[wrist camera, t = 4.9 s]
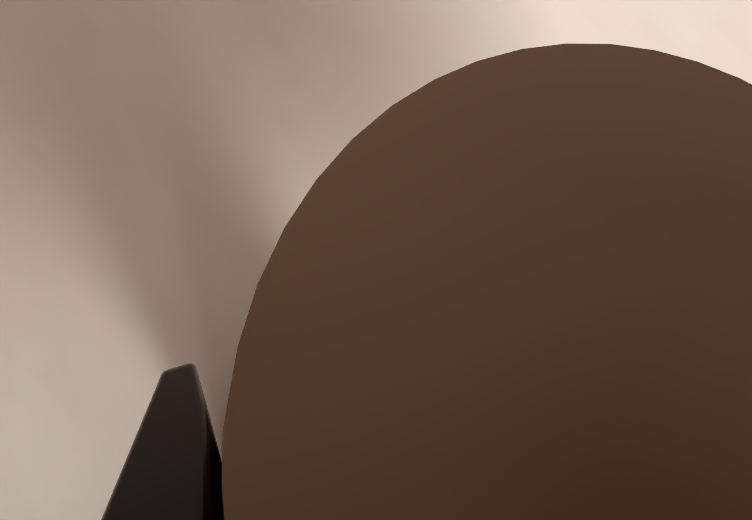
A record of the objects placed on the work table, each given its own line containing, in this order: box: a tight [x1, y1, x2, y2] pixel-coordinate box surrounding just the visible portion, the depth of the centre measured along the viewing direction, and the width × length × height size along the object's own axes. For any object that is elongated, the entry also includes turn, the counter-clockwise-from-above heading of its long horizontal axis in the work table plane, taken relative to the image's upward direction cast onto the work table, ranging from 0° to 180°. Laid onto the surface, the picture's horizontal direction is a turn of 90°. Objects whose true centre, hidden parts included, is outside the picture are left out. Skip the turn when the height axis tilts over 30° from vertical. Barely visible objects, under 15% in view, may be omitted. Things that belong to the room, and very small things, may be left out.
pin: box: [222, 44, 752, 520], centre depth 9 cm, size 4×4×13 cm
